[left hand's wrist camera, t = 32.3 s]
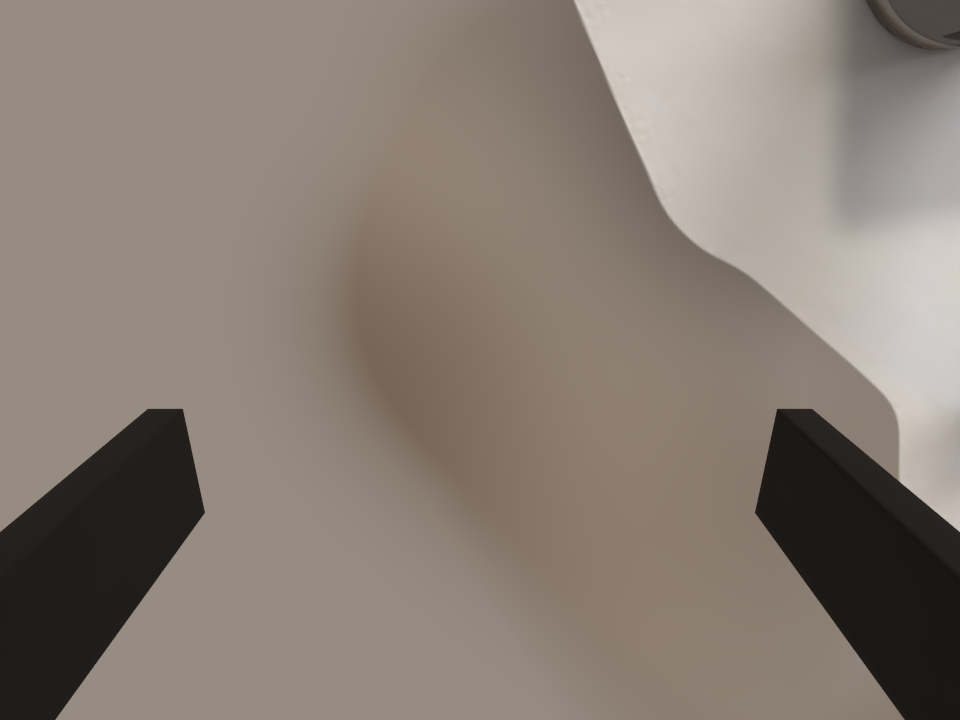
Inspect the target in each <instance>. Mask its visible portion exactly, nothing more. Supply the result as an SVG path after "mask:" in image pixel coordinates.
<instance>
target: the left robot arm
mask: <svg viewBox="0 0 960 720" xmlns="http://www.w3.org/2000/svg"><path fill="white" fill-rule="evenodd" d="M867 1H868V3H869V5H870V7H871V9H872V11H873V12H874V14H875V15H876V17H877V18H878V20H879V21H880V22H881V23H882V24H883V26H884V27H885V28H887V29H888V30H889V31H890V32H891V33H892V34H894V35H895V36H896V37H898V38H899V39H901V40H903V41H905V42H907V43H909V44H912V45H915V46H918V47H922V48H927V49H935V50H947V49H956V48H960V0H867ZM957 50H958V49H957ZM204 513H205V511H204V506H203V502H202V497H201V492H200V488H199V483H198V478H197V474H196V469H195V464H194V459H193V455H192V450H191V445H190V441H189V436H188V431H187V427H186V422H185V418H184V413H183V409H147V410H146V411H145V412H144V413H143V414H141V415H140V416H139V417H138V418H137V419H135V420H134V421H133V422H132V423H131V424H129V425H128V426H127V427H126V428H125V429H123V430H122V431H121V432H120V433H119V434H117V435H116V436H115V437H114V438H113V439H111V440H110V441H109V442H108V443H107V444H105V445H104V446H103V447H102V448H101V449H99V450H98V451H97V452H96V453H95V454H94V455H92V456H91V457H90V458H89V459H87V460H86V461H85V462H84V463H83V464H81V465H80V466H79V467H78V468H77V469H75V470H74V471H73V472H72V473H71V474H69V475H68V476H67V477H66V478H65V479H63V480H62V481H61V482H60V483H59V484H57V485H56V486H55V487H54V488H53V489H51V490H50V491H49V492H48V493H47V494H45V495H44V496H43V497H42V498H41V499H39V500H38V501H37V502H36V503H35V504H33V505H32V506H31V507H30V508H29V509H27V510H26V511H25V512H24V513H23V514H21V515H20V516H19V517H18V518H17V519H15V520H14V521H13V522H12V523H11V524H9V525H8V526H7V527H6V528H5V529H3V530H2V531H1V532H0V720H55V719H56V718H57V717H58V715H59V714H60V712H61V711H62V710H63V708H64V707H65V705H66V704H67V703H68V701H69V700H70V699H71V697H72V696H73V694H74V693H75V692H76V690H77V689H78V687H79V686H80V685H81V683H82V682H83V681H84V679H85V678H86V676H87V675H88V674H89V672H90V671H91V669H92V668H93V667H94V665H95V664H96V663H97V661H98V660H99V658H100V657H101V656H102V654H103V653H104V652H105V650H106V649H107V647H108V646H109V645H110V643H111V642H112V640H113V639H114V638H115V636H116V635H117V634H118V632H119V631H120V629H121V628H122V627H123V625H124V624H125V622H126V621H127V620H128V618H129V617H130V616H131V614H132V613H133V611H134V610H135V609H136V607H137V606H138V604H139V603H140V602H141V600H142V599H143V598H144V596H145V595H146V593H147V592H148V591H149V589H150V588H151V587H152V585H153V584H154V582H155V581H156V580H157V578H158V577H159V575H160V574H161V573H162V571H163V570H164V568H165V567H166V566H167V564H168V563H169V562H170V560H171V559H172V557H173V556H174V555H175V553H176V552H177V550H178V549H179V548H180V546H181V545H182V544H183V542H184V541H185V539H186V538H187V537H188V535H189V534H190V533H191V531H192V530H193V528H194V527H195V526H196V524H197V523H198V521H199V520H200V519H201V517H202V516H203V515H204ZM755 513H756V515H757V516H758V517H759V519H760V520H761V521H762V523H763V524H764V526H765V527H766V528H767V530H768V531H769V533H770V534H771V535H772V537H773V538H774V540H775V541H776V542H777V544H778V545H779V546H780V548H781V549H782V551H783V552H784V553H785V555H786V556H787V557H788V559H789V560H790V562H791V563H792V564H793V566H794V567H795V569H796V570H797V571H798V573H799V574H800V575H801V577H802V578H803V580H804V581H805V582H806V584H807V585H808V587H809V588H810V589H811V591H812V592H813V593H814V595H815V596H816V598H817V599H818V600H819V602H820V603H821V605H822V606H823V607H824V609H825V610H826V611H827V613H828V614H829V616H830V617H831V618H832V620H833V621H834V622H835V624H836V625H837V627H838V628H839V629H840V631H841V632H842V634H843V635H844V636H845V638H846V639H847V640H848V642H849V643H850V645H851V646H852V647H853V649H854V650H855V651H856V653H857V654H858V656H859V657H860V658H861V660H862V661H863V663H864V664H865V665H866V667H867V668H868V670H869V671H870V672H871V674H872V675H873V676H874V678H875V679H876V681H877V682H878V683H879V685H880V686H881V687H882V689H883V690H884V692H885V693H886V694H887V696H888V697H889V699H890V700H891V701H892V703H893V704H894V705H895V707H896V708H897V710H898V711H899V712H900V714H901V715H902V716H903V718H904V719H905V720H960V532H959V531H958V530H957V529H955V528H954V527H953V526H952V525H951V524H949V523H948V522H947V521H946V520H945V519H943V518H942V517H941V516H940V515H939V514H937V513H936V512H935V511H934V510H933V509H931V508H930V507H929V506H928V505H927V504H925V503H924V502H923V501H922V500H921V499H919V498H918V497H917V496H916V495H915V494H913V493H912V492H911V491H910V490H909V489H907V488H906V487H905V486H904V485H903V484H901V483H900V482H899V481H898V480H897V479H895V478H894V477H893V476H892V475H891V474H889V473H888V472H887V471H886V470H885V469H883V468H882V467H881V466H880V465H879V464H877V463H876V462H875V461H874V460H873V459H871V458H870V457H869V456H868V455H867V454H865V453H864V452H863V451H862V450H861V449H859V448H858V447H857V446H856V445H855V444H853V443H852V442H851V441H850V440H849V439H847V438H846V437H845V436H844V435H843V434H841V433H840V432H839V431H838V430H837V429H835V428H834V427H833V426H832V425H831V424H829V423H828V422H827V421H826V420H825V419H823V418H822V417H821V416H820V415H819V414H817V413H816V412H815V411H814V410H813V409H777V413H776V417H775V422H774V427H773V431H772V436H771V441H770V445H769V450H768V455H767V460H766V464H765V469H764V474H763V478H762V483H761V488H760V492H759V497H758V502H757V506H756V511H755Z"/></svg>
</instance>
